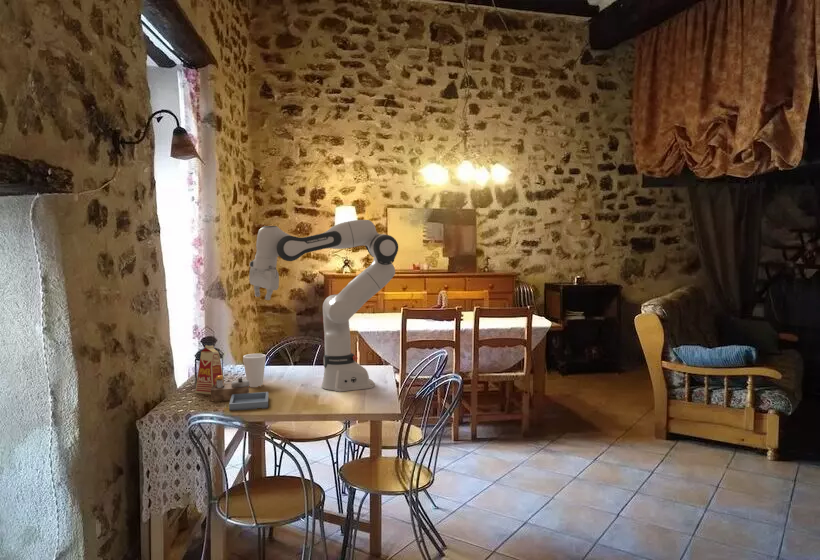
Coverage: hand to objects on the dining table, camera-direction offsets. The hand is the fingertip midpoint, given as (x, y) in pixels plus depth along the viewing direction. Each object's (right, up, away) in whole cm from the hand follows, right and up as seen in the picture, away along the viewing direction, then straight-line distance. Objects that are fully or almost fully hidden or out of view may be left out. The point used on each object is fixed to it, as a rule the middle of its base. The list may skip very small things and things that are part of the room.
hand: (262, 298), depth 246 cm
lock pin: (-15, -40, -6) cm, 43 cm away
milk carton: (-23, -39, +5) cm, 46 cm away
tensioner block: (-12, -40, -5) cm, 42 cm away
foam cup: (-6, -38, +13) cm, 41 cm away
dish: (-1, -41, -15) cm, 43 cm away
